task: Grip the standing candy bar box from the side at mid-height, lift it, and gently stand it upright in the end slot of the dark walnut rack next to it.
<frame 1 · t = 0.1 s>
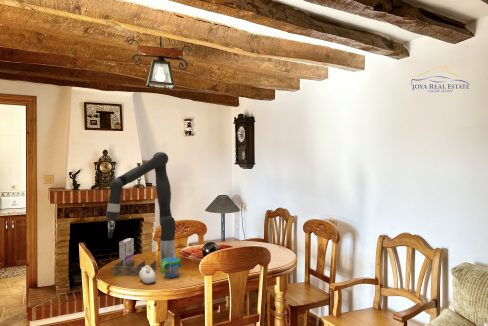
hand: (109, 236, 228), 22 cm above the table, tool pointing down, fingers open, 8 cm apart
white spotted figurine: (147, 281, 212), on the table
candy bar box: (126, 264, 246), on the table
walnut rack: (123, 270, 231), on the table
snack cup: (171, 276, 221), on the table
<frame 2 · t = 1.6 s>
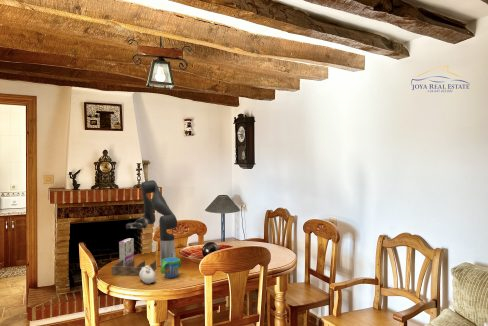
hand: (133, 227, 257), 22 cm above the table, tool horizontal, fingers open, 8 cm apart
nothing on the table moved.
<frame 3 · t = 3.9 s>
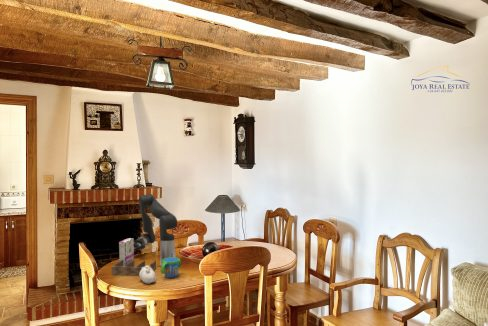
hand: (131, 248, 253), 9 cm above the table, tool horizontal, fingers open, 8 cm apart
nothing on the table moved.
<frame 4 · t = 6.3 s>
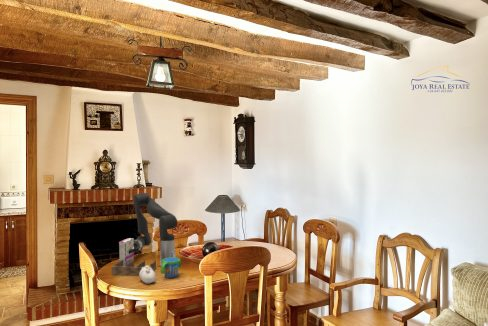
hand: (125, 252, 243), 9 cm above the table, tool horizontal, fingers closed on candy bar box, 5 cm apart
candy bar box: (126, 264, 246), on the table, touching gripper
everything else where it was.
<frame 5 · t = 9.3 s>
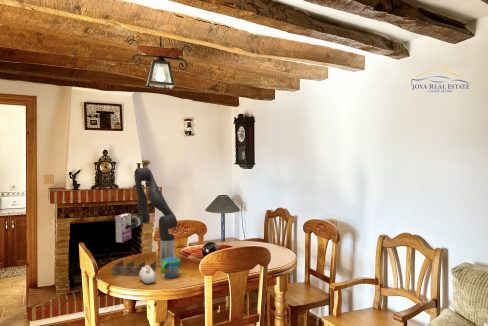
hand: (121, 227, 230), 28 cm above the table, tool horizontal, fingers closed on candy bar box, 5 cm apart
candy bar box: (123, 240, 232), point 19 cm above the table, touching gripper
everything else where it was.
when the fingers open (11 cm above the table, at t = 12.3 s): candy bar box drops 1 cm, resting on walnut rack.
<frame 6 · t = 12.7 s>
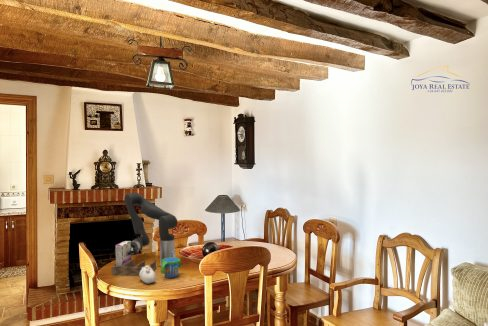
hand: (122, 253, 229), 12 cm above the table, tool horizontal, fingers open, 8 cm apart
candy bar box: (123, 269, 231), point 1 cm above the table, touching walnut rack
everything else where it was.
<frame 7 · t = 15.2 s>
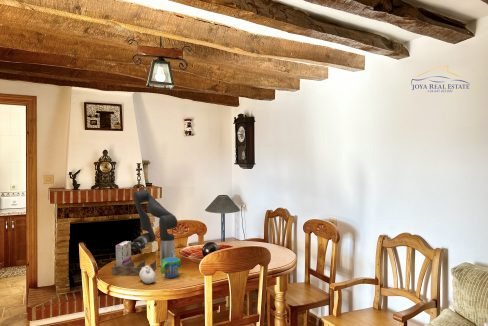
hand: (130, 248, 242), 11 cm above the table, tool horizontal, fingers open, 8 cm apart
nothing on the table moved.
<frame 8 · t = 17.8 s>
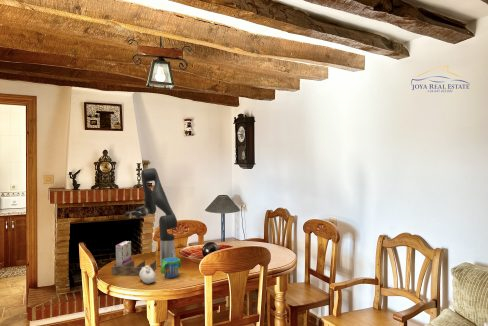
hand: (131, 215, 249), 32 cm above the table, tool horizontal, fingers open, 8 cm apart
nothing on the table moved.
at the end: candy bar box 0.1 cm off-centre on the walnut rack, point 1.0 cm above the walnut rack's base; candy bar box tilted 0°; the gripper is holding nothing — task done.
